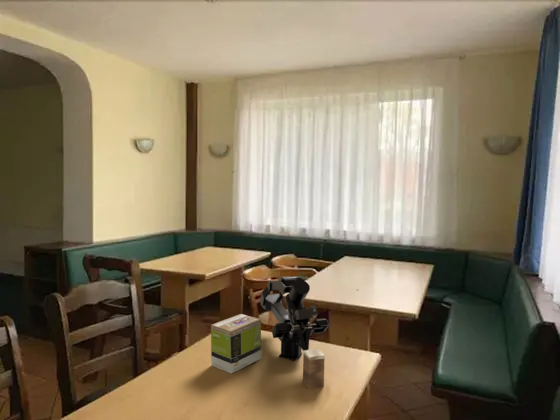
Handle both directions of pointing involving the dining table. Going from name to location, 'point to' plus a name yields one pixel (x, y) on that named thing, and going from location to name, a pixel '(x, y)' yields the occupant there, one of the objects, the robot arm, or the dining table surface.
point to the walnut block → (313, 368)
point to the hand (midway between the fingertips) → (306, 352)
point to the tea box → (235, 342)
